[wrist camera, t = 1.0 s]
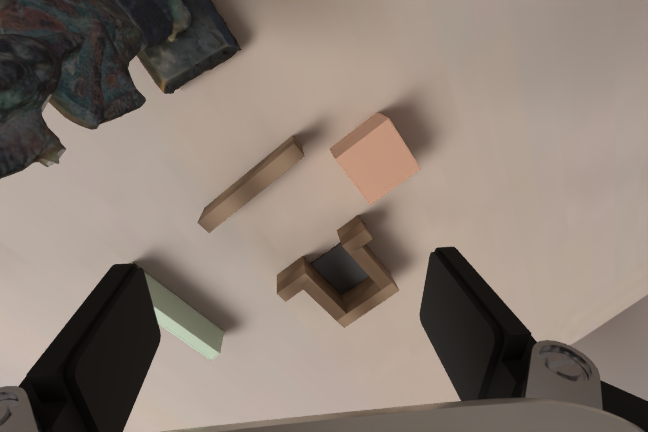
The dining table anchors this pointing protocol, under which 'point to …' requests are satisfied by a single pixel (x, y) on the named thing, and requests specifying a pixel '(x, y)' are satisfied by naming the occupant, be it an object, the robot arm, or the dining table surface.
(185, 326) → the light green plank
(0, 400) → the robot arm
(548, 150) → the dining table surface
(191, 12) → the statue
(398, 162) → the block
